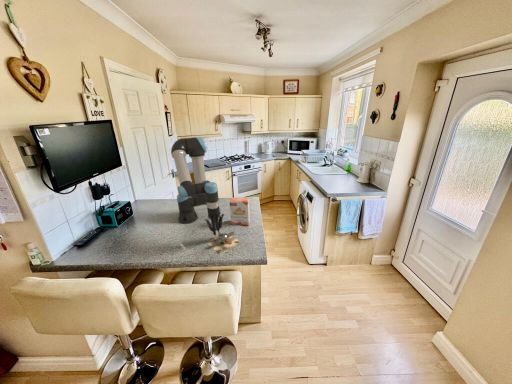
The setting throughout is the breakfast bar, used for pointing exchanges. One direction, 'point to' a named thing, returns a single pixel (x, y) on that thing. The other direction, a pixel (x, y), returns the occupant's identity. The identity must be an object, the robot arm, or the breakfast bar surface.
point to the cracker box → (239, 211)
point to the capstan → (223, 238)
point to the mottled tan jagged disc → (224, 245)
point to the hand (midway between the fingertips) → (216, 238)
